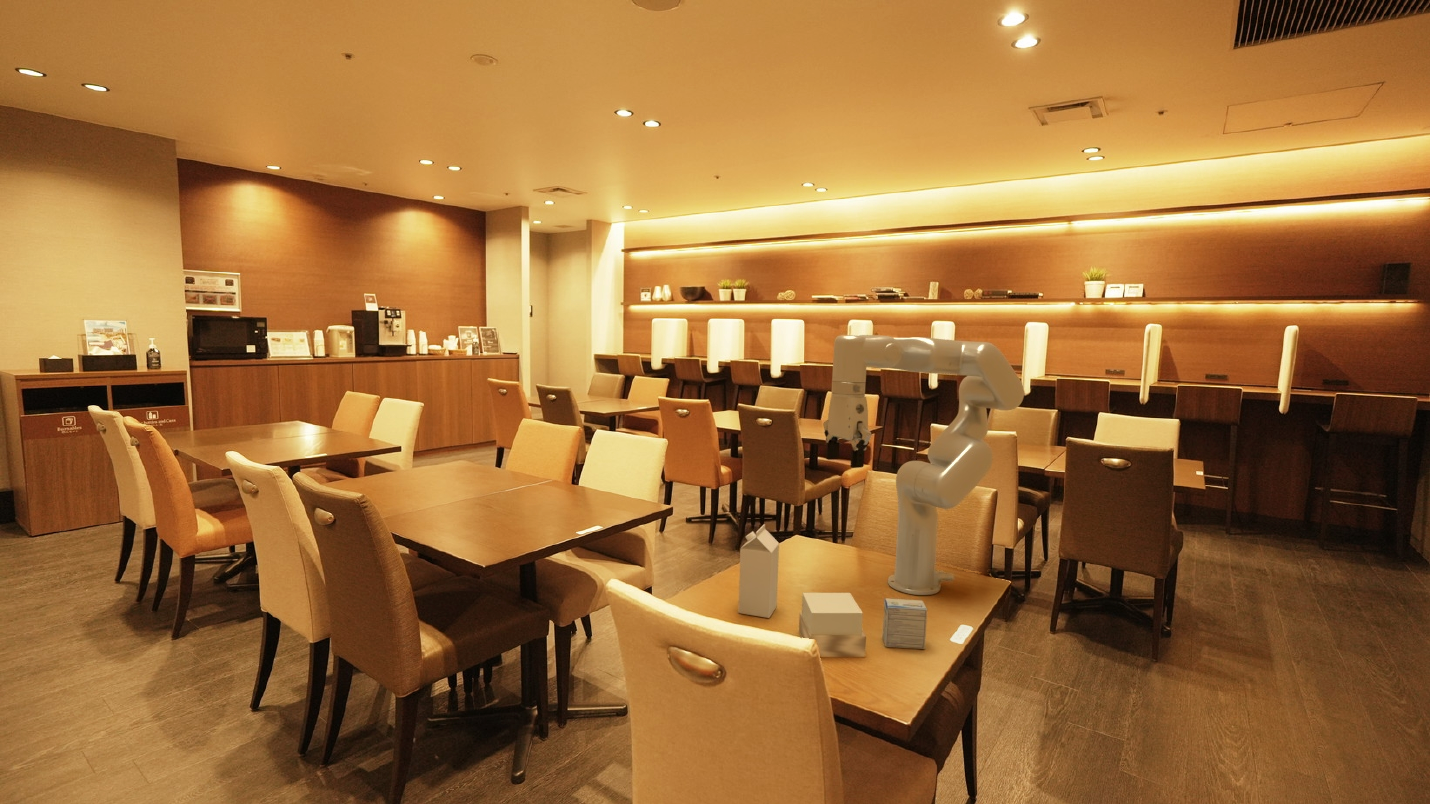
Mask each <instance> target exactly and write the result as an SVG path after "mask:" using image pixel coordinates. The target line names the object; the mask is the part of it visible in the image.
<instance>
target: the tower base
mask: <svg viewBox="0 0 1430 804" xmlns="http://www.w3.org/2000/svg"><path fill="white" fill-rule="evenodd" d="M798 618H799V620H798V621H799V622H798V632H799V635H800V638H801V637H803V638H809V639H815V640H816V642H817V645H818V647H819V653H820V656H821V657H820V658H844V657H845V658H865V657H866V646H867V645H866V642H867V635H866V634H865V632H864V631H863V630H862V635H811V634H810V632H809V629H808V627H807V625H806V622H805V620H804V617H803V615H802V611H801V612H799V617H798Z"/></svg>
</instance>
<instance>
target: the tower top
mask: <svg viewBox="0 0 1430 804" xmlns="http://www.w3.org/2000/svg"><path fill="white" fill-rule="evenodd" d="M801 597H802V599H801V600H802V601H801V612H802V615H803V617H804V620H805V622H806V625H807V627H808V629H809V632H810V634H811V635H862V631H863V621H864V620H863V618H864V617H863V615H864V613H863V611H862V609H861V607H859V604H858V603H857V601H856V600H855V598H854V597H853V595H852V593H850V592H802V596H801Z"/></svg>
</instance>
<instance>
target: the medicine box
mask: <svg viewBox="0 0 1430 804" xmlns="http://www.w3.org/2000/svg"><path fill="white" fill-rule="evenodd" d="M883 602H884V603H883V619H882V620H883V621H882V623H883V624H882V639H883V643H884V647H886V648H901V649H916V650H917V649H918V650H926V635H927V622H928V620H927V619H928V609H927V607H926V605H925V603H924V600H918V599H917V600H916V599H903V598H902V599H901V598H884V600H883Z"/></svg>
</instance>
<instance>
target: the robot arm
mask: <svg viewBox="0 0 1430 804" xmlns="http://www.w3.org/2000/svg"><path fill="white" fill-rule="evenodd" d="M832 357H833V358H832V379H831V397H830V400H829V401H830V402H829V405H828V406H829V407H828V408H829V409H828V414H827V415H828V416H827V420H825V421H823V423H822V424H823V430H824V431H823V433H824V436H825V443H826V457H825V458H826V460H828V461H831V460H832V461H834V460H839V457H840V442H839V440H840V439H841V440H844V441H850V444H851V447H852V449H851V452H850V465H849V466H850V468H852V469H860V468H863V467H864V466H865V464H864V463H865V451H866V450H867V447H868V446H869V444H870V440H871V437H872V432H871V430H869V409H868V407H869V406H868V402H867V401H868V400H867V397H866V382H867V381H866V380H867V368H875V369H894V370H901V371H906V372H912V373H922V374H923V373H924V374H937V375H938V374H939V375H952V376H965V377H964V378H963V379H962V380H961V382H960V384H959V386H958V387H959V388H958V399H959V400H958V401H959V403H958V404H959V405H958V413H957V415H956V416H955V418H954V419H953V420H952V422H951V423H950V424H949V425H948V426H947V427H946V428H945V429H944V430H943V431H942V432H941V433H940V434H939V435H938V436H937V437H936V438H935V439H934V440H933V441H932V443H931V444H930V445H929V447H928V450H927V459H928V461H929V462H926V461H922V460H910V461H907V462H905V463H903V464H902V465H901V466H900V468H899V469H898V470H897V472H896V475H895V476H896V478H895V485H896V486H895V487H896V494H897V504H898V506H897V507H898V513H897V515H898V516H897V530H896V531H897V532H896V547H895V549H896V550H895V566H894V573H893V574H891V575H889V576H888V577H887V583H888V585H889V586H890V587H891V588H892V589H894V590H896V591H898V592H901V593H905V594H909V595H915V596H916V595H917V596H929V595H935V594H937V593H938V592H940V590H941V583H942V582H944V581H945V582H954V580H955V574H954V573H953V572H951V573H950V572H945V570H938V569H936V561H937V560H936V557H937V545H938V544H937V542H938V528H939V516H938V510H937V508H938V509H943V510H949V509H953V508H955V507H957V506H958V505H959V504H961V503H962V502H963V500H965V498H967V497H968V495H969V494H970V493H971V492H972V491H973V490H974V489H975V488H976V487H977V486H978V485H979V484H980V483H981V481H982V480H984V478H985V477H986V476H987V474H988V473H989V472H990V469H991V468H992V467H991V466H992V464H993V460H994V459H993V458H994V455H993V454H994V453H993V449H992V448H991V446H990V445H989V444H988V443H987V442H986V441H984V439H985V437H986V436H987V434H988V432H989V420H988V413H987V412H988V411H987V409H993V410H998V411H1012V410H1015V409H1017V408H1018V407H1019V406H1020V405H1021V404H1022V402H1023V400H1024V397H1025V390H1024V385H1023V382H1022V381H1021V379H1020V378H1019V376H1018V375H1017V373H1016V372H1015V371H1016V370H1015V369H1014V368H1013V367H1012V365H1011V363H1010V361H1008V359H1007V358H1006V356H1005V355H1004V353H1003V352H1002V351H1001V350H1000V349H999V348H998V347H997V346H996V345H995V344H993V343H991V342H988V341H970V340H969V341H968V340H956V339H955V340H953V339H945V338H944V339H942V338H935V337H934V338H933V337H918V336H917V337H916V336H915V337H892V336H890V335H878V334H877V335H876V334H860V335H853V334H852V335H850V334H843V335H838V336H836V337H835V339H834V343H833V355H832Z"/></svg>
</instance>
